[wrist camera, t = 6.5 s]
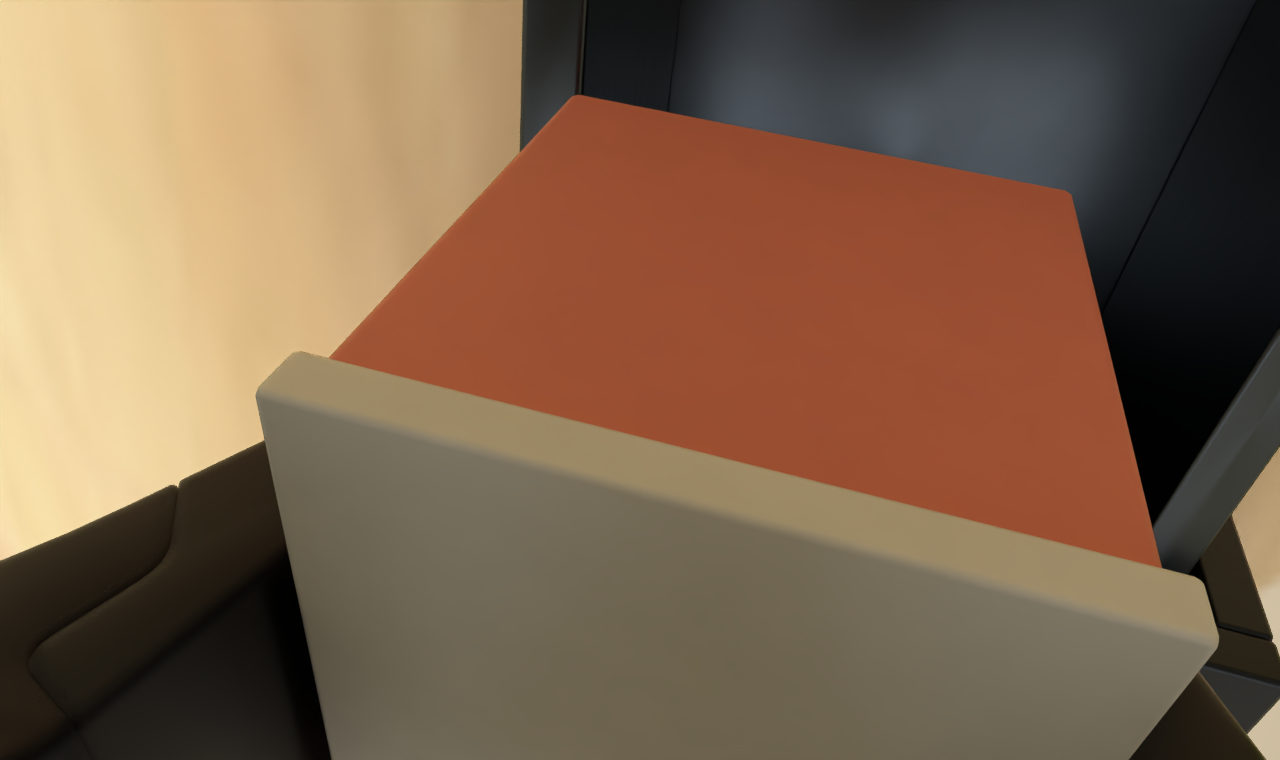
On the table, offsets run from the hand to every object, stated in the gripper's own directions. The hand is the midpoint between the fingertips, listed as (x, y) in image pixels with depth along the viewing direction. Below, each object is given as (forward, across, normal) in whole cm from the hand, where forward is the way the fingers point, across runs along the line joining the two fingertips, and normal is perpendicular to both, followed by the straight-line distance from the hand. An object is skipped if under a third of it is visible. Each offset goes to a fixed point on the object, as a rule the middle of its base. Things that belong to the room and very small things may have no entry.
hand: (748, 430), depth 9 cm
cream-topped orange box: (+1, 0, 0) cm, 1 cm away
